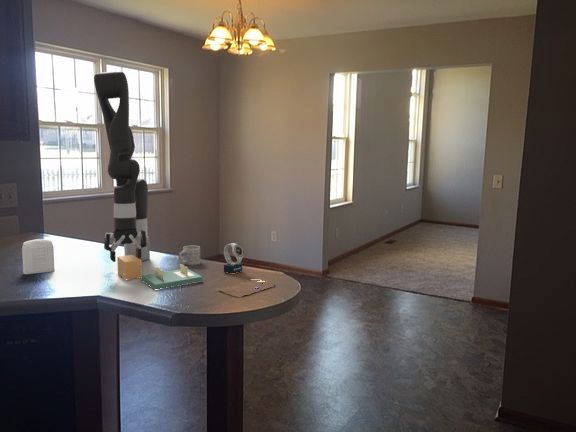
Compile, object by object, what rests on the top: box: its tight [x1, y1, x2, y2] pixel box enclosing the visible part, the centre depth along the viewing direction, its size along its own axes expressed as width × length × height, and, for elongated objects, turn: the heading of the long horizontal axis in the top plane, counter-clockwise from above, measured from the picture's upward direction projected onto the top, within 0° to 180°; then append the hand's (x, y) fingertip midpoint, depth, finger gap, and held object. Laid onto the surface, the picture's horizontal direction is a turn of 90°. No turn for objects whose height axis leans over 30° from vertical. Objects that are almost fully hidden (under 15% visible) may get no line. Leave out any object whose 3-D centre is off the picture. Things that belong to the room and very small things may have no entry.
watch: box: [223, 242, 245, 274], centre depth 180 cm, size 6×8×11 cm
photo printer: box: [21, 238, 55, 275], centre depth 175 cm, size 10×4×12 cm, turn 123°
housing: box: [116, 255, 143, 280], centre depth 173 cm, size 6×9×6 cm, turn 36°
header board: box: [141, 263, 203, 290], centre depth 167 cm, size 17×13×5 cm
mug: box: [178, 244, 201, 266], centre depth 191 cm, size 10×7×7 cm
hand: (126, 260), depth 172 cm, fingers open, 8 cm apart
